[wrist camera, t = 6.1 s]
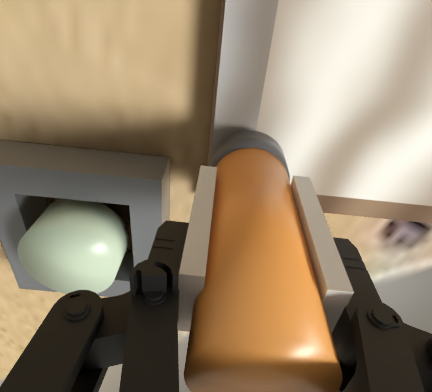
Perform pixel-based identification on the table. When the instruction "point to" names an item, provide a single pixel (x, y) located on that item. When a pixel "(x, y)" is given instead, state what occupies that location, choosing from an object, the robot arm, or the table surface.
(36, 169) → the button housing
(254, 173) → the marker
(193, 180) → the table surface
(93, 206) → the button
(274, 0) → the board
